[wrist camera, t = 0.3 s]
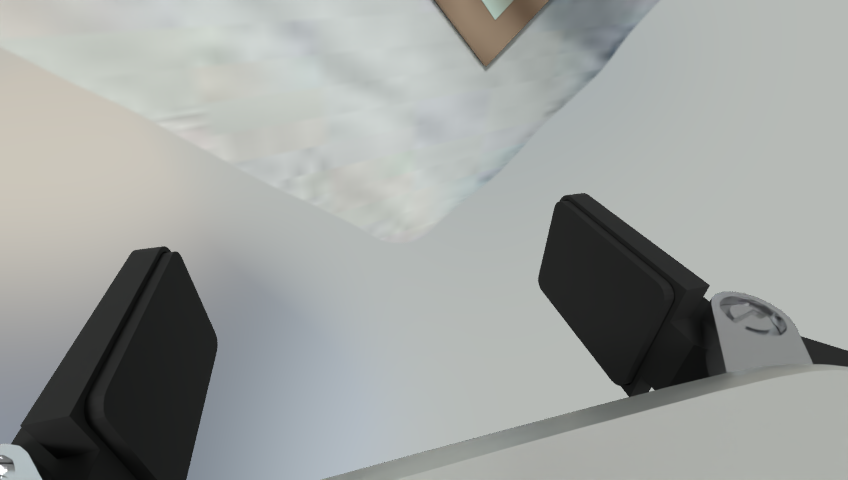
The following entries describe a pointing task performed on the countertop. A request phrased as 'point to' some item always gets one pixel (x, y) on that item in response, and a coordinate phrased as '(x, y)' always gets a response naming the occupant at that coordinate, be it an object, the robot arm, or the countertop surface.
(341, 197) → the countertop surface
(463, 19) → the board
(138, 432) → the robot arm
